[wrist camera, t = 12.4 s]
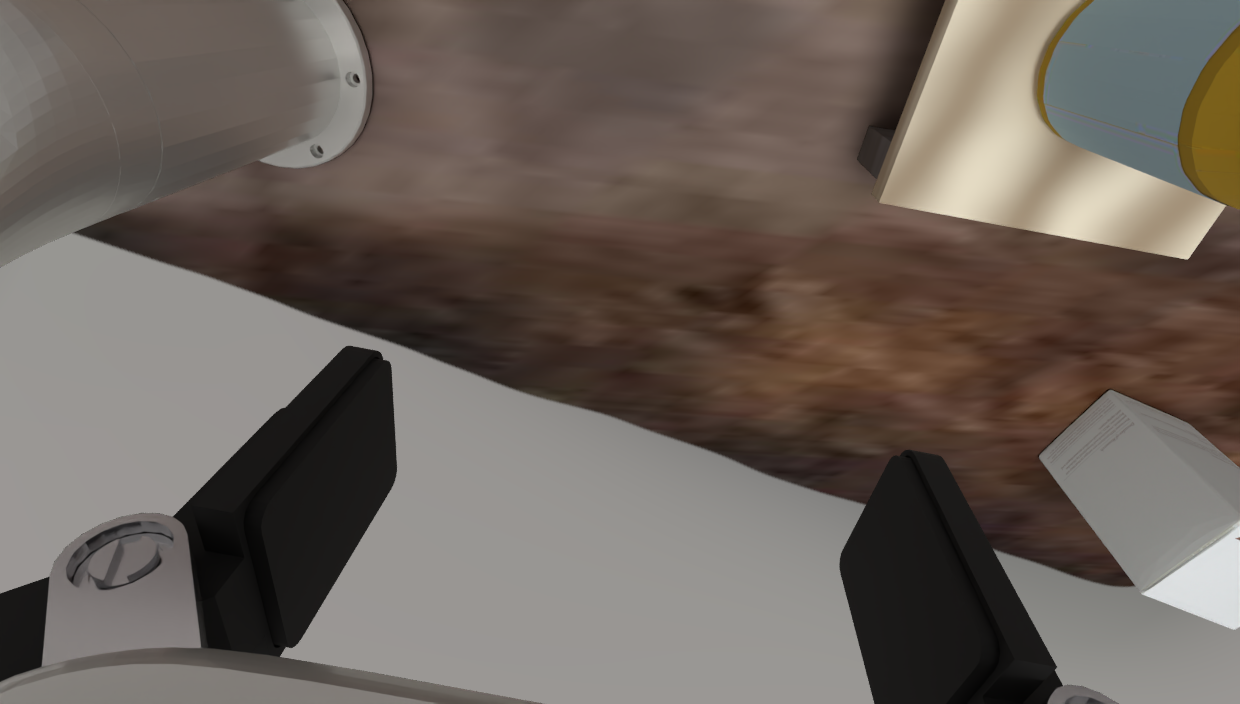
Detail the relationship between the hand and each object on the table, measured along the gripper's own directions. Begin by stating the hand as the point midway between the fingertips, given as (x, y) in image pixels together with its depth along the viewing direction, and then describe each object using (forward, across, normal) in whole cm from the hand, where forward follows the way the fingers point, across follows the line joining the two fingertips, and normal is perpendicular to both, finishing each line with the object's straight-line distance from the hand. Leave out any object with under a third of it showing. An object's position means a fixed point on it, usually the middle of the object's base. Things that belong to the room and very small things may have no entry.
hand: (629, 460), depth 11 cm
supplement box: (+31, -37, +16) cm, 51 cm away
